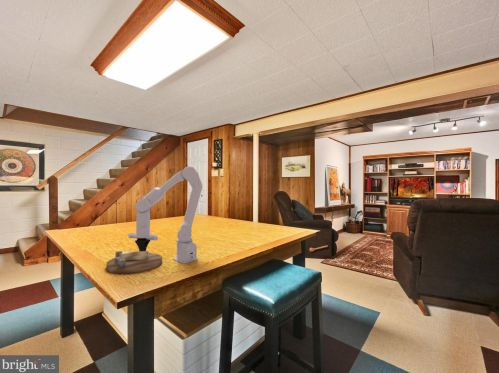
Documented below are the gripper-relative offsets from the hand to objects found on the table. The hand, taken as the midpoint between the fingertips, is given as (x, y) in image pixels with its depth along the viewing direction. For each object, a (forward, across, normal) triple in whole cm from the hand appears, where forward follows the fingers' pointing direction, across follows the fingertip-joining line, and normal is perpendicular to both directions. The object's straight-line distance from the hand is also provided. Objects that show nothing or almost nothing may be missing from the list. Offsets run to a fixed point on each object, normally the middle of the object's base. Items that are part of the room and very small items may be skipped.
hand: (142, 254), depth 108 cm
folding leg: (+1, +2, +4) cm, 5 cm away
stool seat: (+3, 0, +4) cm, 5 cm away
